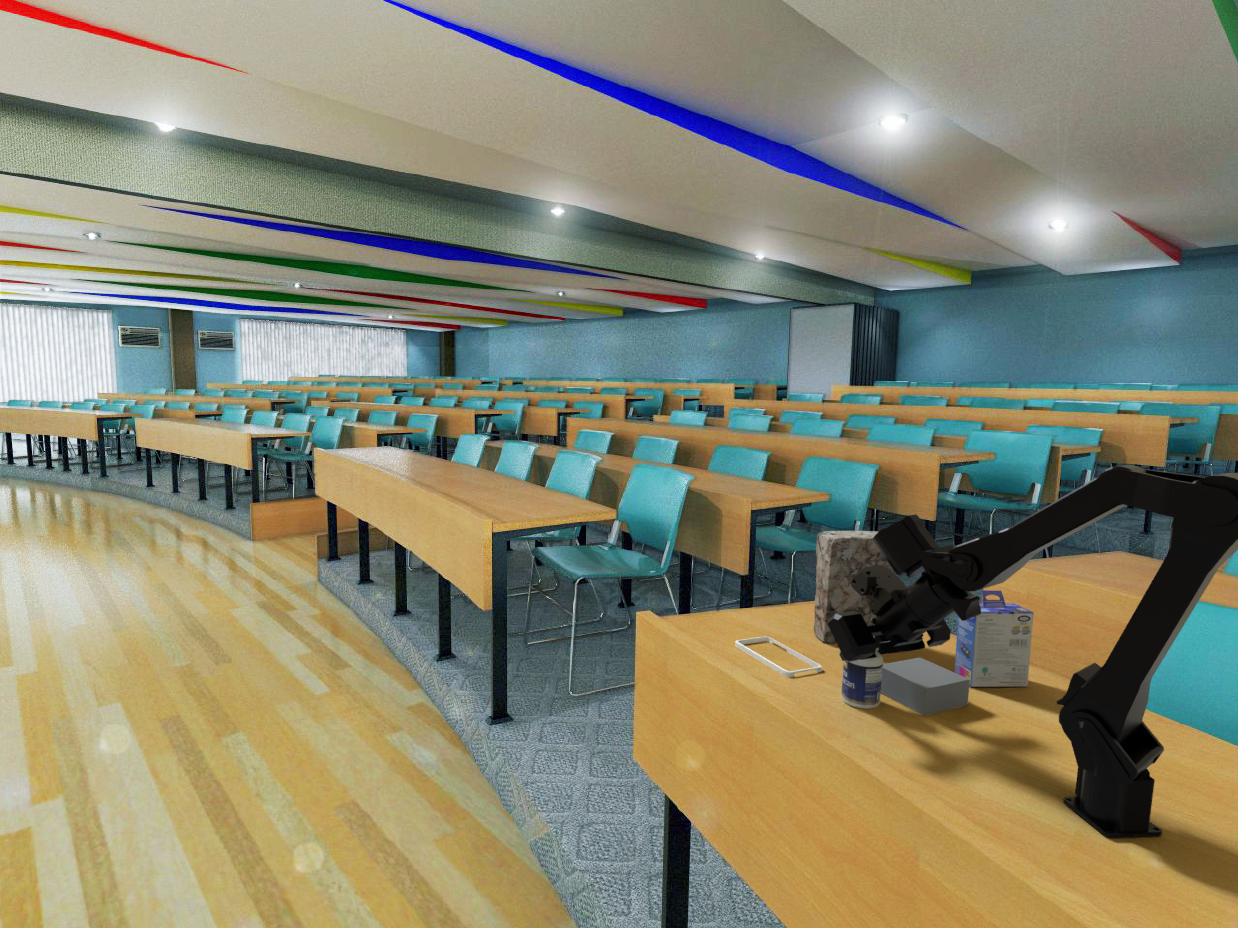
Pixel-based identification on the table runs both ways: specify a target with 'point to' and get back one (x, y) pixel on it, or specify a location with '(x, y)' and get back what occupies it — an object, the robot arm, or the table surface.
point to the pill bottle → (862, 682)
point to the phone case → (782, 671)
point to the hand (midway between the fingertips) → (856, 654)
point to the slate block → (924, 686)
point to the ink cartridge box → (995, 644)
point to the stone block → (842, 576)
